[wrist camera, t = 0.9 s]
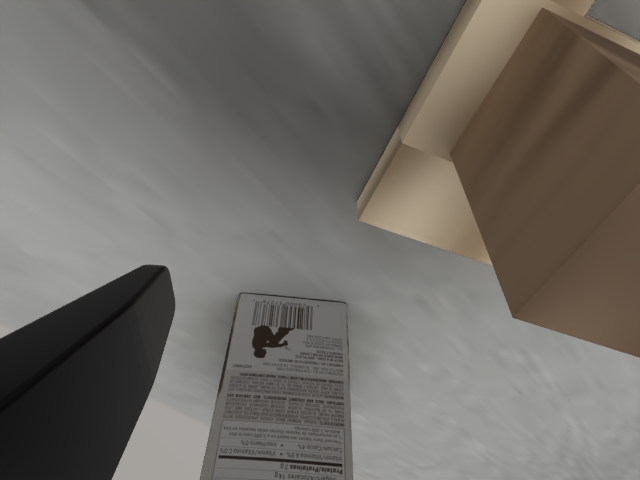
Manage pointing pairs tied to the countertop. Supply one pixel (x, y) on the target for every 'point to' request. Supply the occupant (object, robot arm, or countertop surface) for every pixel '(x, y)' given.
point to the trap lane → (455, 124)
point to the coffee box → (283, 394)
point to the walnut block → (561, 182)
